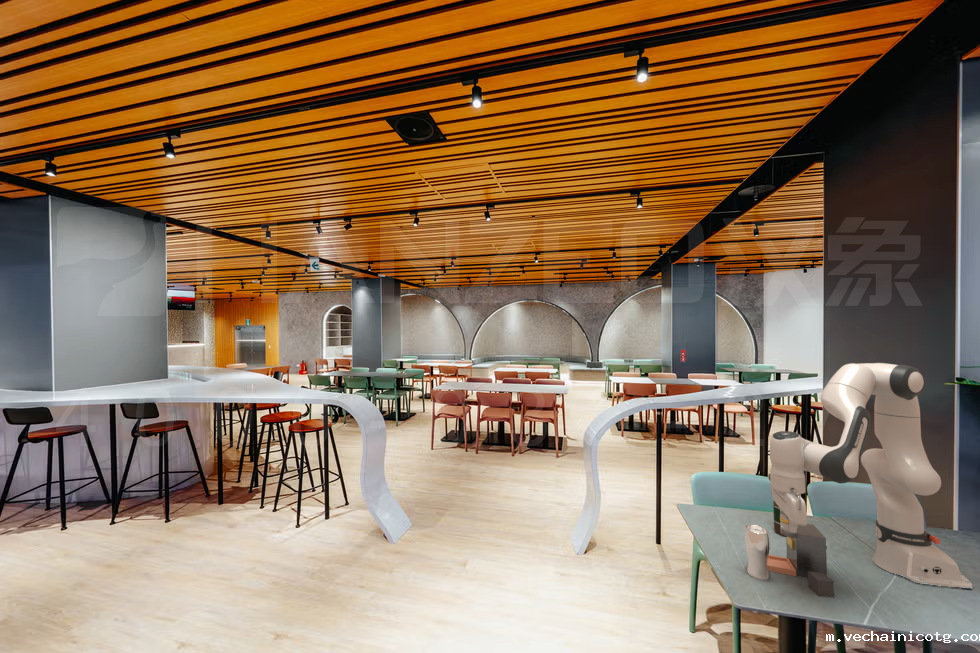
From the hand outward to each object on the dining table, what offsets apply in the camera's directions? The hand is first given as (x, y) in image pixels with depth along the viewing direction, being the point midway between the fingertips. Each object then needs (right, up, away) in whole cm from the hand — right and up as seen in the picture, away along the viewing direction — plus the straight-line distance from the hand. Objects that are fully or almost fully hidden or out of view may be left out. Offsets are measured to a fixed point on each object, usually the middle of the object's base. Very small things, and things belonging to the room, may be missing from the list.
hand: (789, 527), depth 122 cm
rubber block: (+7, -19, -3) cm, 20 cm away
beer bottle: (+24, -20, +33) cm, 46 cm away
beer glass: (-6, -19, +6) cm, 21 cm away
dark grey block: (+12, -19, +8) cm, 24 cm away
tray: (+4, -19, +10) cm, 22 cm away
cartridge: (0, -2, 0) cm, 2 cm away
